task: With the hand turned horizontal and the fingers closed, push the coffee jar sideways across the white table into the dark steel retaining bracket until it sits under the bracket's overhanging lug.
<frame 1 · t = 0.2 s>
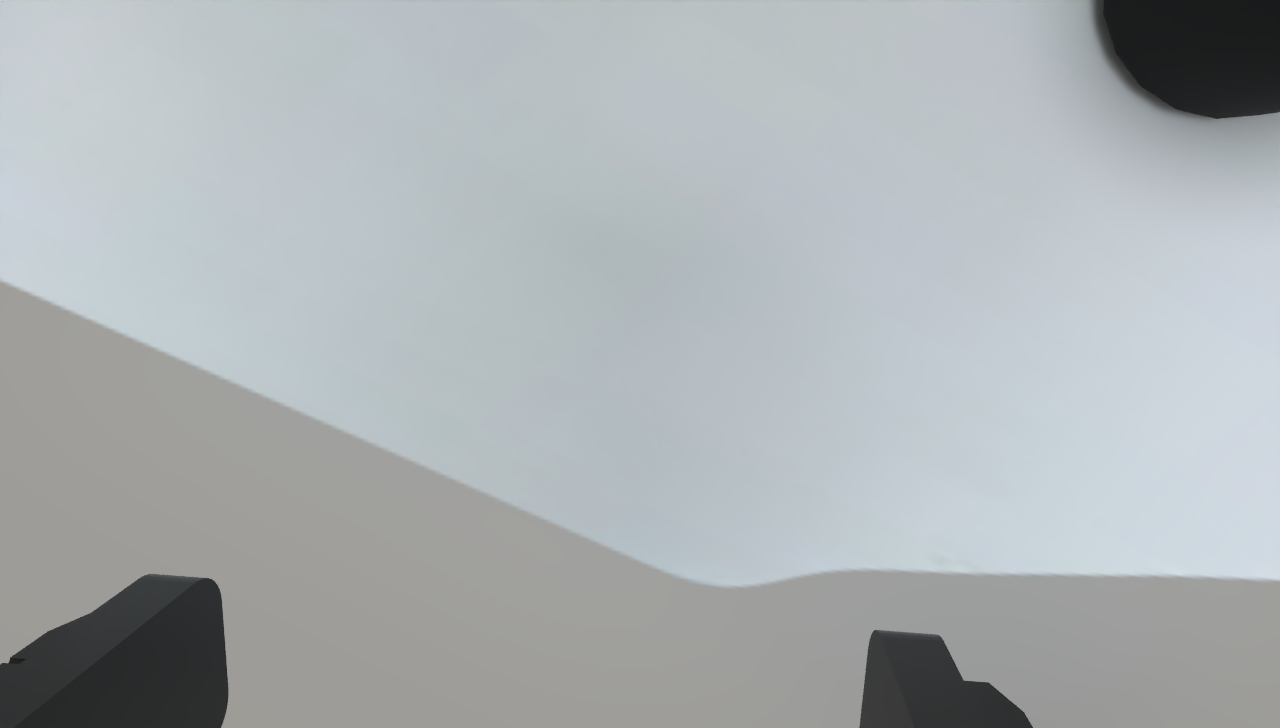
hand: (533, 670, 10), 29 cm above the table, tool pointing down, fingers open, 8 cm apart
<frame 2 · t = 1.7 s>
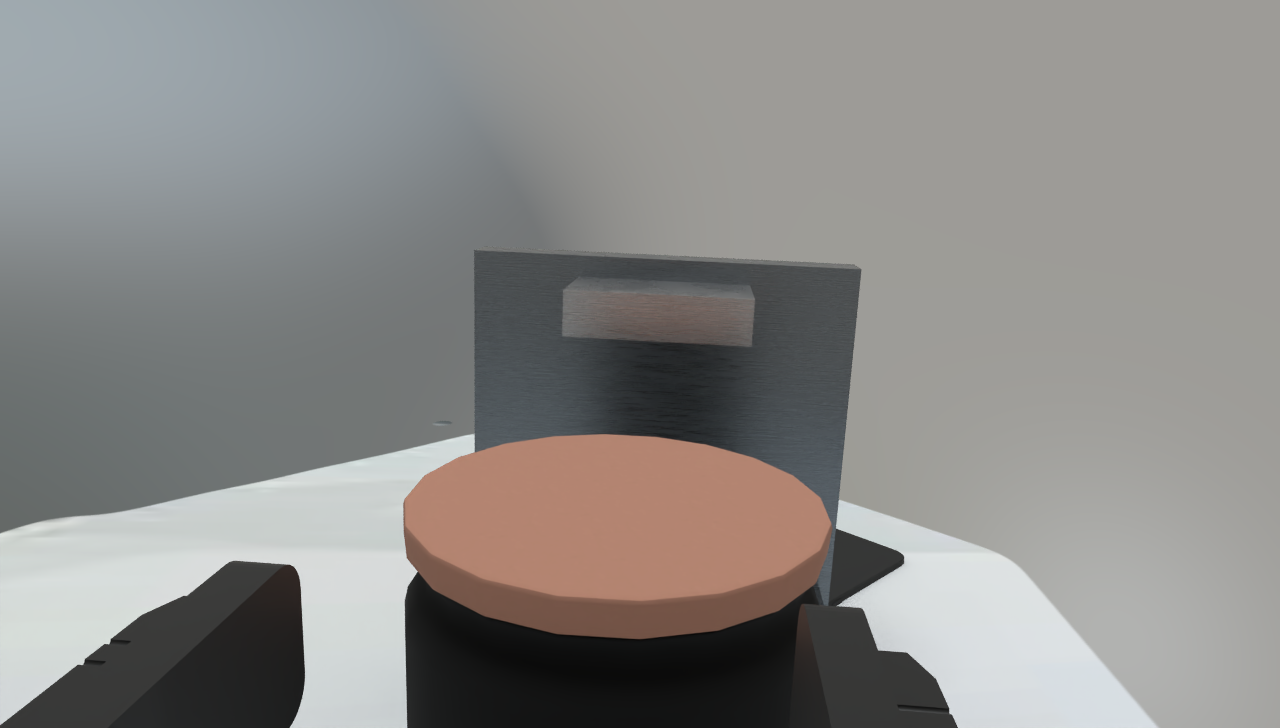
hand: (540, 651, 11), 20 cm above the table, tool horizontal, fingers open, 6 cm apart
phone: (805, 581, 58), on the table
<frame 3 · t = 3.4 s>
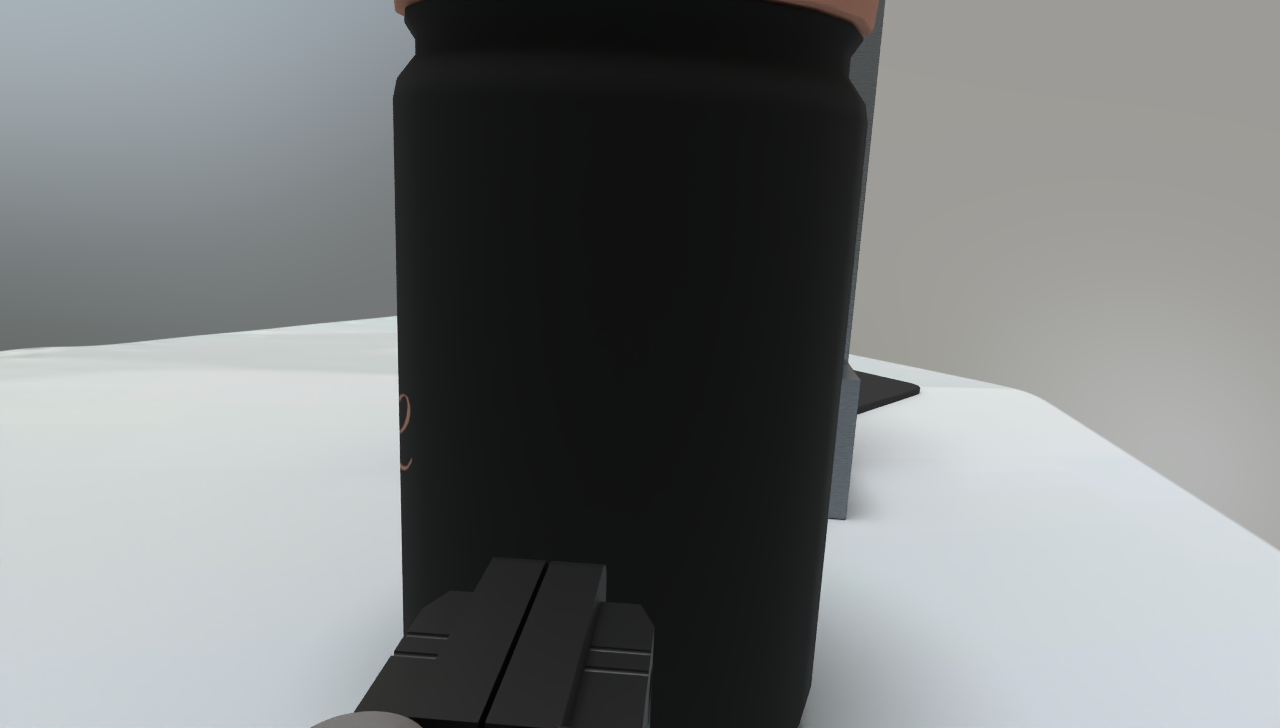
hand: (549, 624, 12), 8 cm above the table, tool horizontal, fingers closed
bracket: (642, 509, 36), on the table
coffee jar: (606, 703, 23), on the table
phone: (817, 405, 55), on the table
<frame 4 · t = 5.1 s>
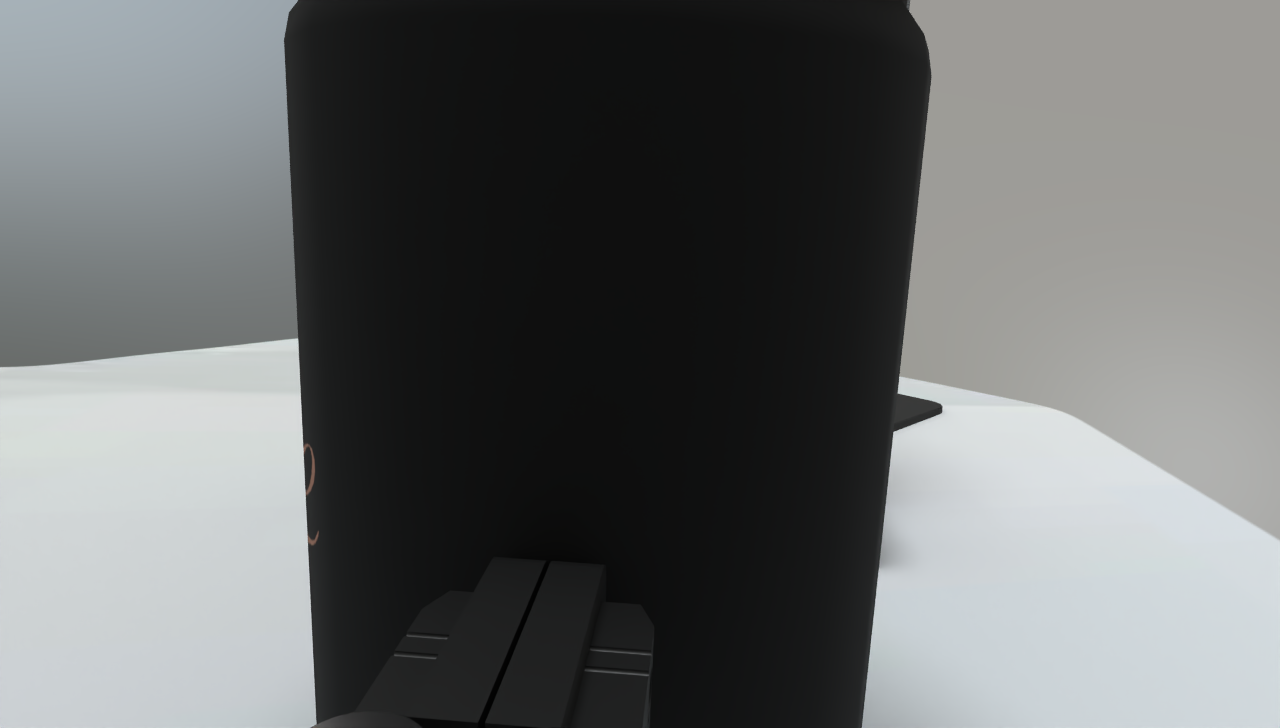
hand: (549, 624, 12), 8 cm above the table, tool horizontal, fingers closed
phone: (831, 427, 50), on the table
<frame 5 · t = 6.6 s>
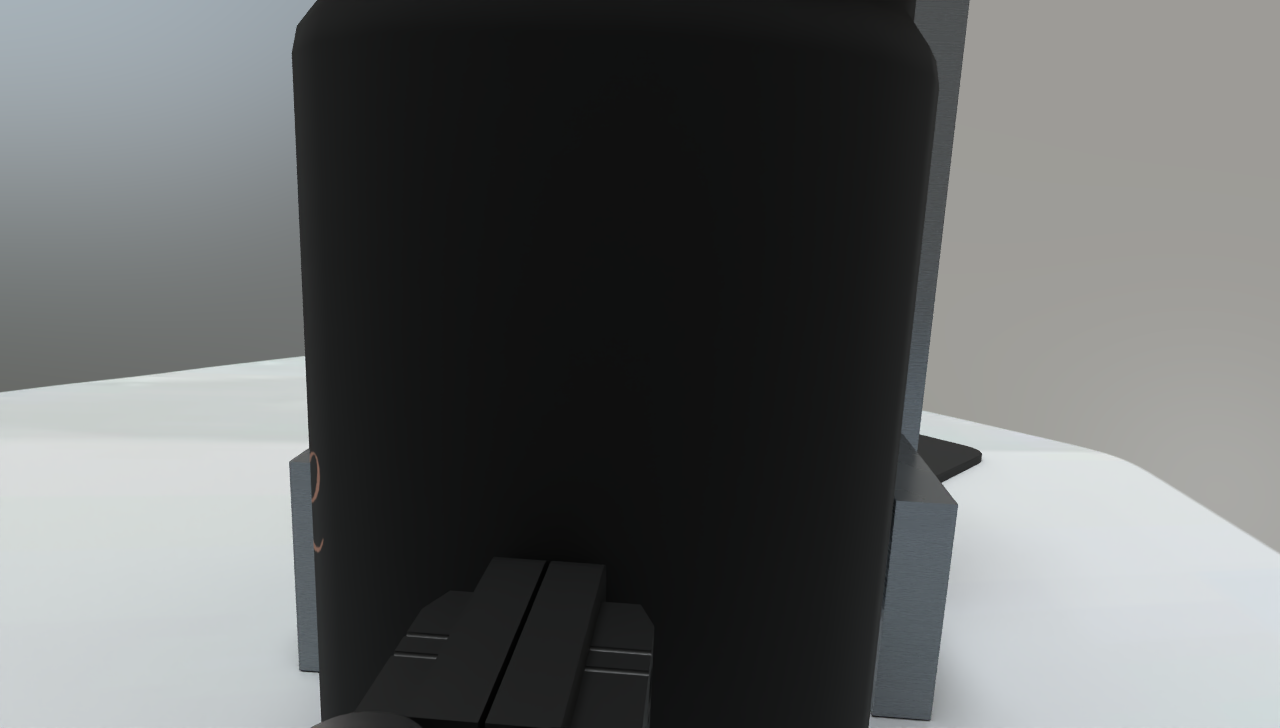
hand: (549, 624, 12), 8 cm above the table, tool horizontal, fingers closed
bracket: (605, 705, 23), on the table
phone: (851, 481, 42), on the table
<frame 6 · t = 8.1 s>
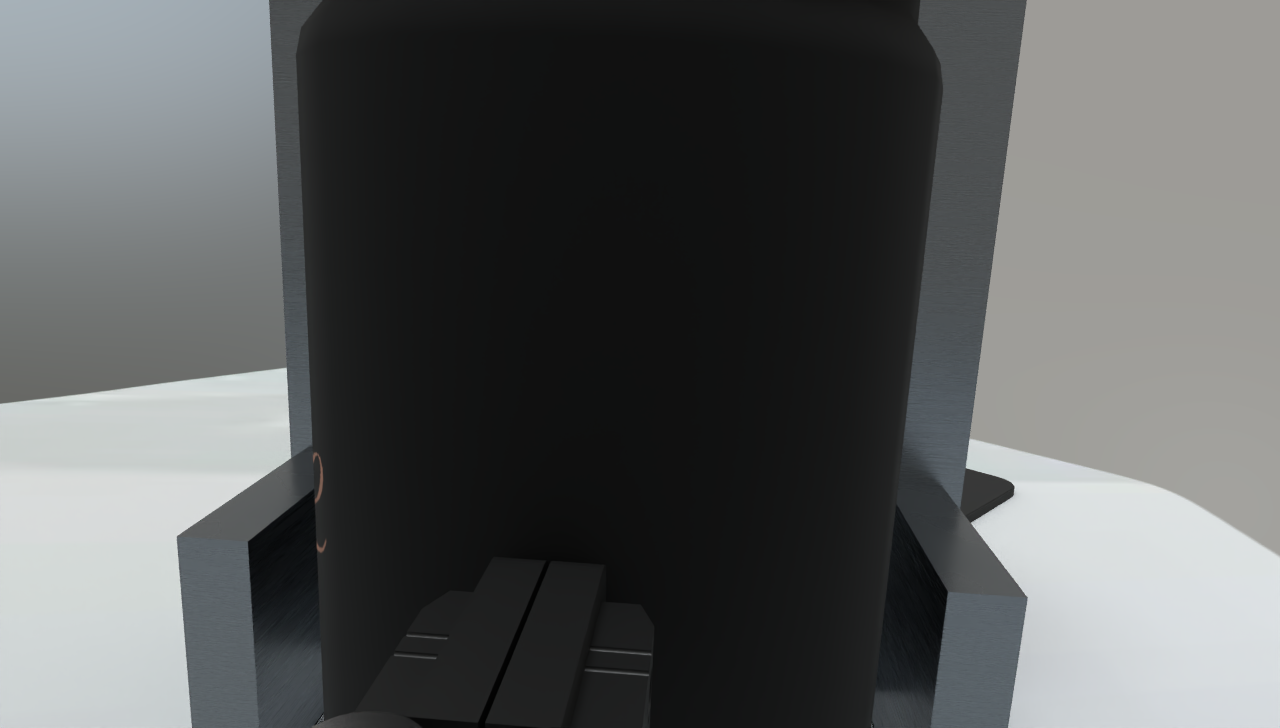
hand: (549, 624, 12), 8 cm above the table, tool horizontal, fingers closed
phone: (869, 519, 37), on the table
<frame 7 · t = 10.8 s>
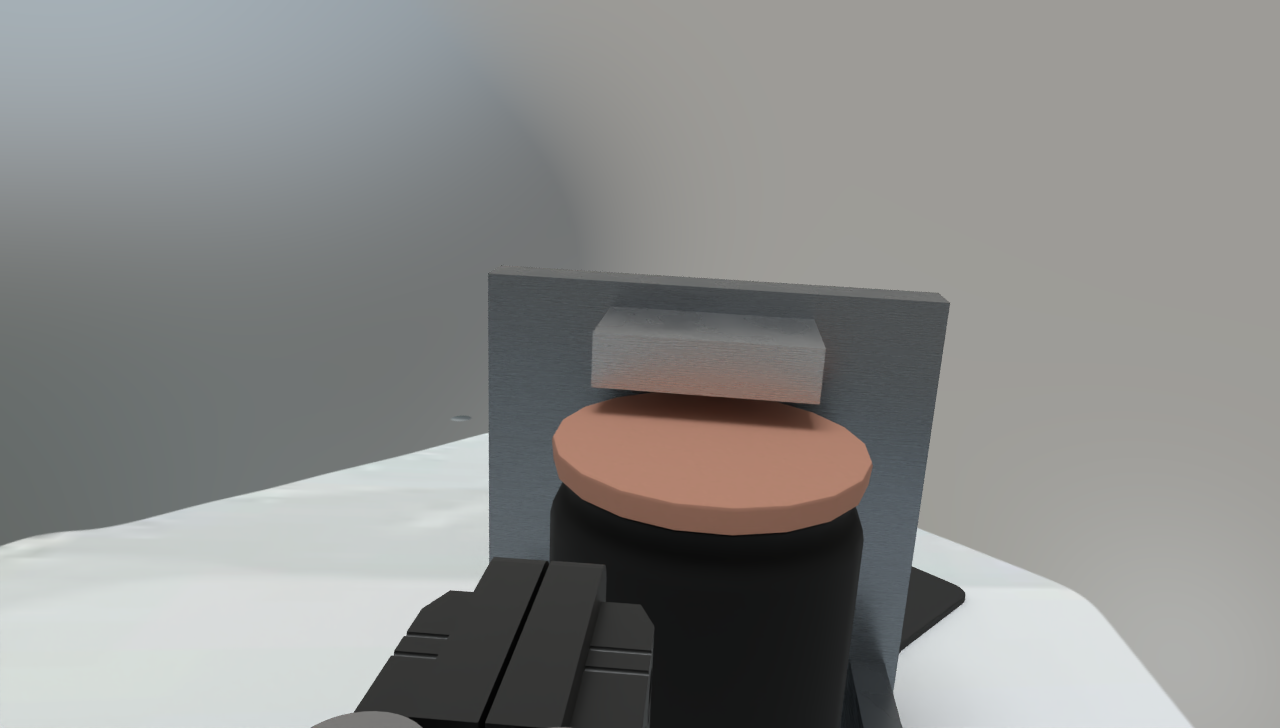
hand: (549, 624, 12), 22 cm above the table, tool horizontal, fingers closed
phone: (856, 622, 52), on the table
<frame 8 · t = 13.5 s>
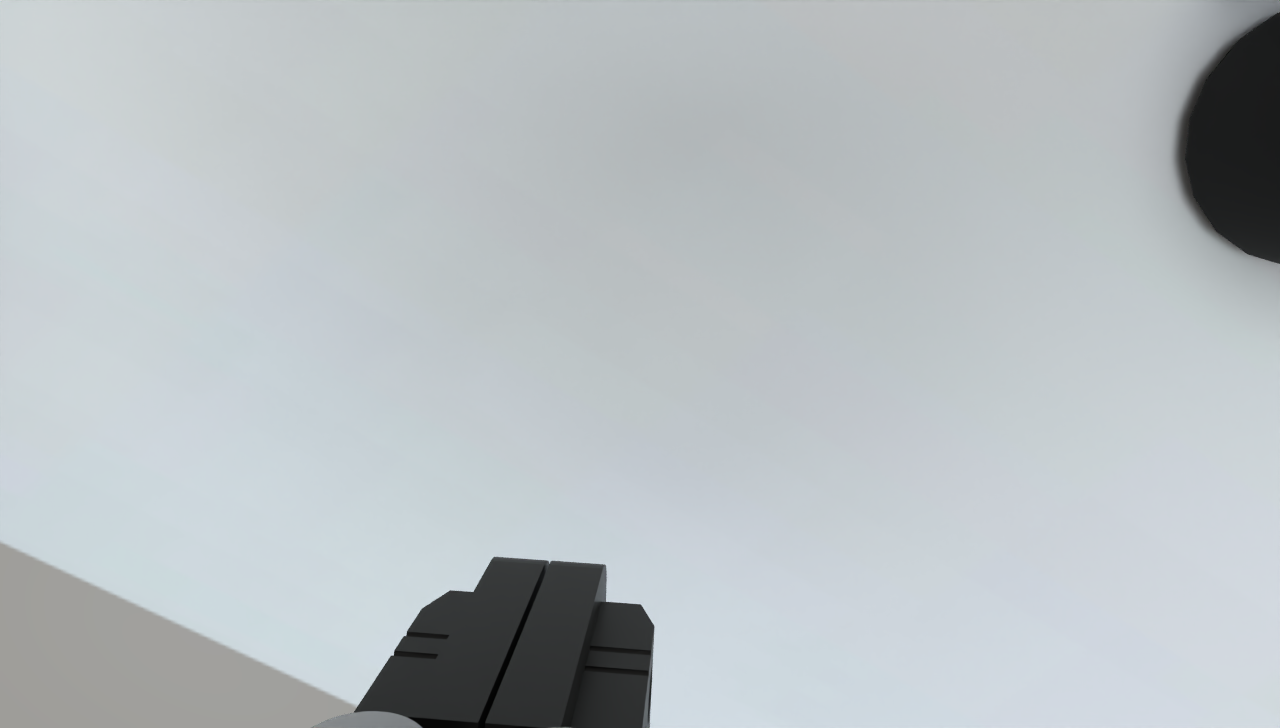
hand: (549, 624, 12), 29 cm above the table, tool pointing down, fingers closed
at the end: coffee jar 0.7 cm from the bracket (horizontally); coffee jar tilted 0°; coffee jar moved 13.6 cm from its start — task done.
